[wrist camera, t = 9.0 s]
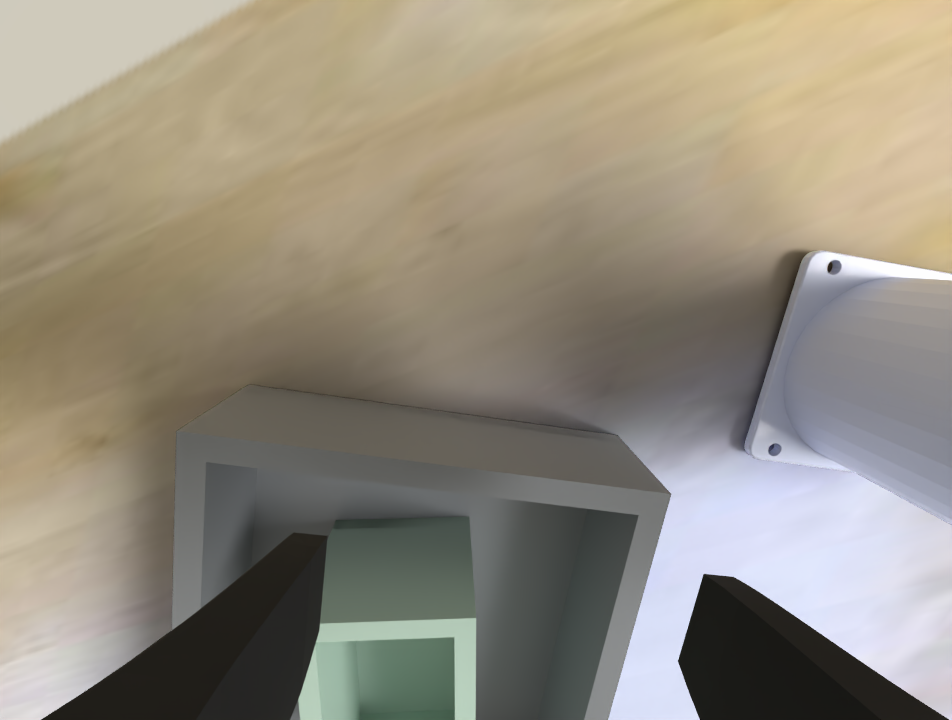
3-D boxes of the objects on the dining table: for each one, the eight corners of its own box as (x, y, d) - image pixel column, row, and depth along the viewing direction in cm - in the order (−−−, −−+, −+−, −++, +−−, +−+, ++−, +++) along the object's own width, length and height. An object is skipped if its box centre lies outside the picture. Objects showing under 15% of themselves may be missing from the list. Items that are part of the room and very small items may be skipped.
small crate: (469, 516, 17) (476, 618, 13) (468, 706, 19) (474, 857, 15) (336, 519, 17) (290, 624, 12) (349, 712, 19) (315, 867, 14)
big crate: (617, 435, 18) (671, 493, 14) (531, 787, 22) (550, 921, 17) (248, 384, 17) (176, 430, 12) (226, 766, 21) (165, 905, 16)
